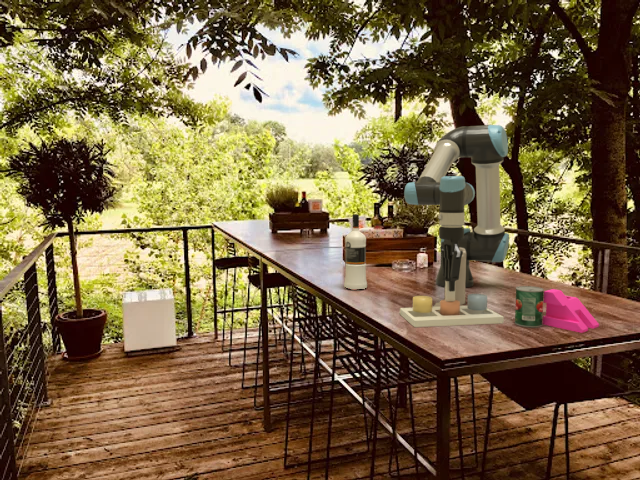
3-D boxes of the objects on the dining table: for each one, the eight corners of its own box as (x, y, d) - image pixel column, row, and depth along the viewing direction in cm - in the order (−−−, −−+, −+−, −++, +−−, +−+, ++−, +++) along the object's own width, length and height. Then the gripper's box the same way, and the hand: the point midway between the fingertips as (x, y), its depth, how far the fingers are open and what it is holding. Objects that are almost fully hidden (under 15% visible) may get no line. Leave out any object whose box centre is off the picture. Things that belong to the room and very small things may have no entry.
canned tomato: (510, 321, 169) (511, 286, 167) (535, 320, 169) (536, 285, 168) (521, 328, 161) (522, 291, 160) (547, 327, 161) (548, 290, 160)
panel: (399, 314, 178) (399, 308, 178) (481, 310, 182) (481, 304, 182) (414, 327, 162) (414, 320, 162) (503, 323, 166) (503, 316, 166)
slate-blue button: (464, 306, 175) (464, 294, 175) (482, 305, 176) (482, 293, 176) (472, 310, 170) (472, 298, 169) (490, 309, 170) (490, 297, 170)
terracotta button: (437, 312, 174) (437, 299, 174) (455, 311, 175) (455, 299, 175) (444, 316, 169) (444, 304, 168) (462, 315, 169) (462, 303, 169)
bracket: (542, 324, 165) (543, 291, 164) (559, 319, 171) (561, 286, 170) (582, 333, 155) (583, 297, 154) (598, 327, 162) (600, 292, 161)
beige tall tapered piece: (428, 305, 190) (429, 248, 188) (452, 299, 199) (453, 245, 197) (445, 309, 185) (446, 250, 182) (469, 302, 193) (470, 246, 191)
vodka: (371, 289, 218) (371, 214, 214) (351, 291, 213) (351, 215, 210) (359, 285, 226) (359, 213, 222) (340, 287, 222) (339, 214, 218)
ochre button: (410, 308, 173) (410, 296, 173) (428, 307, 174) (428, 295, 173) (416, 313, 167) (416, 300, 167) (434, 312, 168) (435, 299, 168)
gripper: (432, 224, 175) (431, 296, 177) (447, 228, 162) (446, 306, 164) (455, 224, 176) (453, 296, 178) (471, 227, 163) (469, 305, 165)
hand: (450, 300), depth 171 cm, fingers closed
